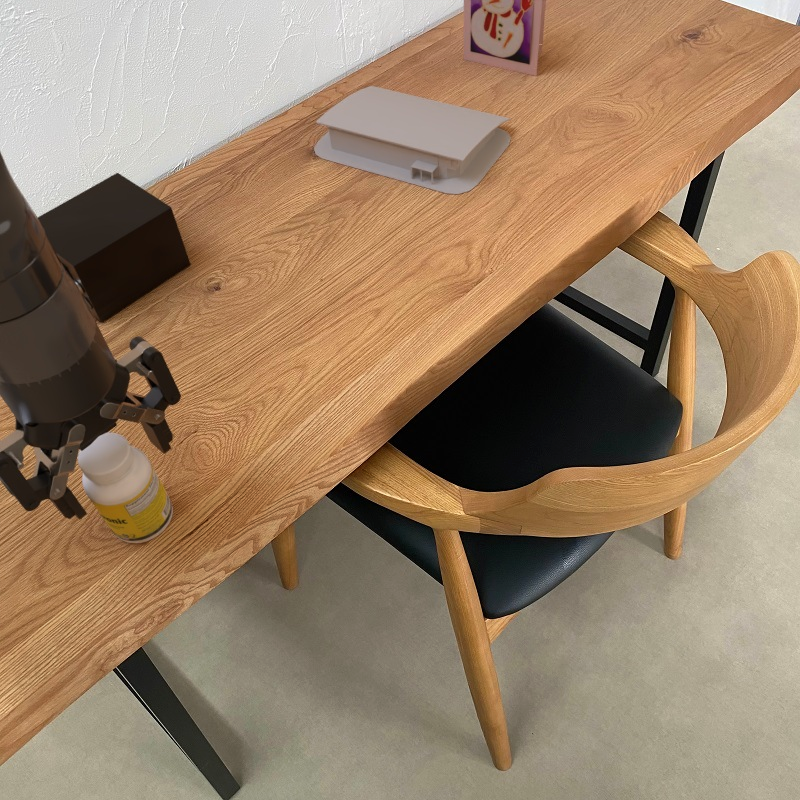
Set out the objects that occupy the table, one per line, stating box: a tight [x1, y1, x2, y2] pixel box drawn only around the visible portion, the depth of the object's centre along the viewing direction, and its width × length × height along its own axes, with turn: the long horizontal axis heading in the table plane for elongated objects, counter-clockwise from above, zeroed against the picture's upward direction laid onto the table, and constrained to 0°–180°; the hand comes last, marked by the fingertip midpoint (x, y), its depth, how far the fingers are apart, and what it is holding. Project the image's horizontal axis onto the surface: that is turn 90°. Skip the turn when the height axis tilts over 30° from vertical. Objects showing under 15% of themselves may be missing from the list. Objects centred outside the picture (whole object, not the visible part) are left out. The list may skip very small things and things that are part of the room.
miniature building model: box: [313, 85, 512, 195], centre depth 101 cm, size 15×23×4 cm, turn 61°
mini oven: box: [37, 172, 192, 324], centre depth 86 cm, size 13×10×8 cm
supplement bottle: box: [77, 432, 174, 544], centre depth 65 cm, size 5×5×10 cm
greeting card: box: [463, 0, 547, 77], centre depth 109 cm, size 11×7×15 cm, turn 60°
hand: (120, 477), depth 64 cm, fingers open, 7 cm apart
